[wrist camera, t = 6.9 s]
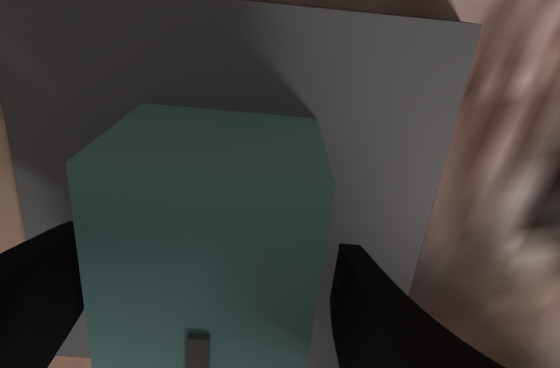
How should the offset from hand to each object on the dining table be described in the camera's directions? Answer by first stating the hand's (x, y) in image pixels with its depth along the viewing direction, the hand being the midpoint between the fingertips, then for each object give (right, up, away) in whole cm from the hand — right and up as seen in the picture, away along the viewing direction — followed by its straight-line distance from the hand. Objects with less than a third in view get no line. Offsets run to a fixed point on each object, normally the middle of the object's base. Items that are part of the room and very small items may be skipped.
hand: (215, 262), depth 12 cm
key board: (0, +2, +4) cm, 4 cm away
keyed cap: (0, +1, +2) cm, 2 cm away
